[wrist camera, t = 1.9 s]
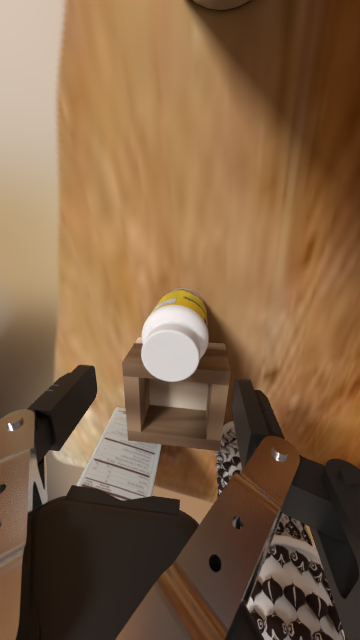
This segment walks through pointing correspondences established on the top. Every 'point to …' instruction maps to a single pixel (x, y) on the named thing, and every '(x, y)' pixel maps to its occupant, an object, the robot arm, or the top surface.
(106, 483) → the supplement box
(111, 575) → the robot arm
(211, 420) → the socket block
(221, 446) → the decorative candle
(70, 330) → the top surface
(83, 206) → the top surface
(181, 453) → the top surface
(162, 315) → the supplement bottle
